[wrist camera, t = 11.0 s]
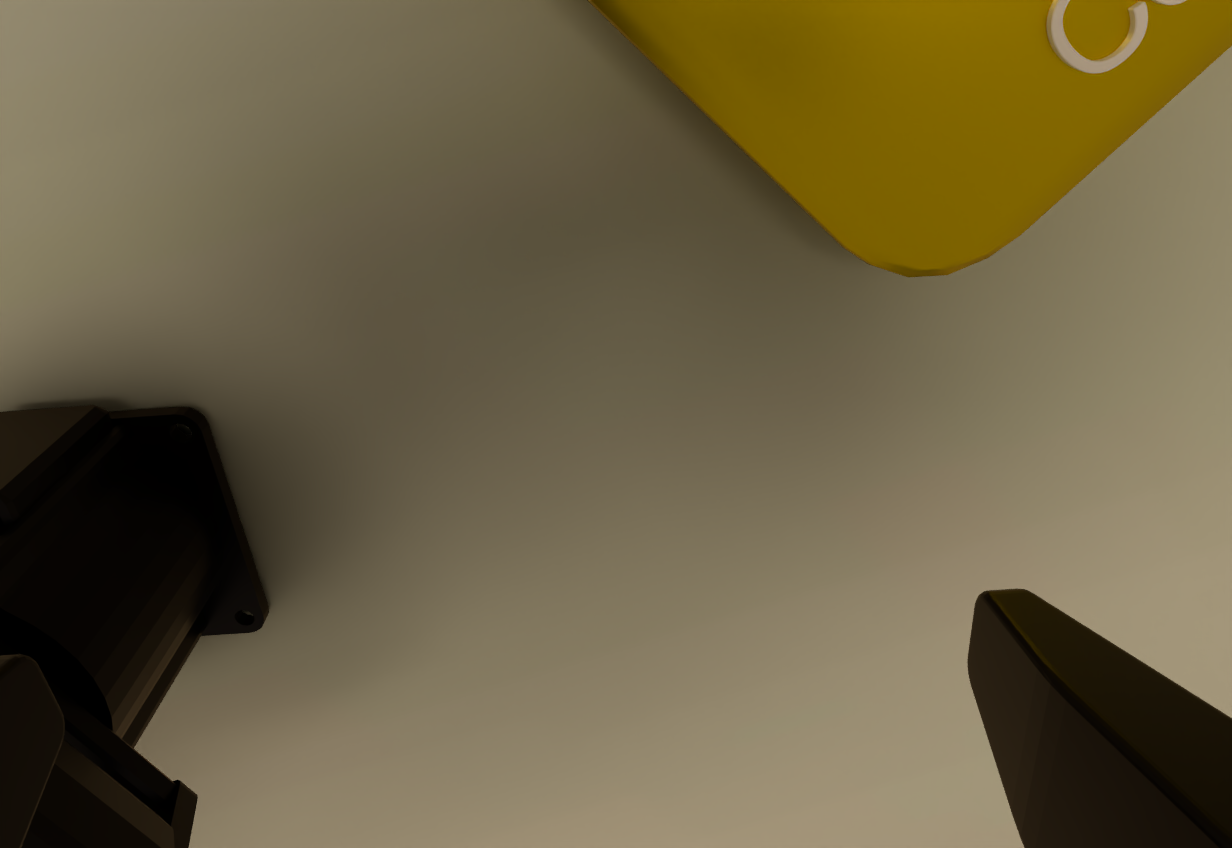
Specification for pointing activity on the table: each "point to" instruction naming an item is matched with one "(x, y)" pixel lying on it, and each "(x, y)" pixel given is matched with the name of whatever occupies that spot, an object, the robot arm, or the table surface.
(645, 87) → the table surface
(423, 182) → the table surface
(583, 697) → the table surface
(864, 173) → the element tile
